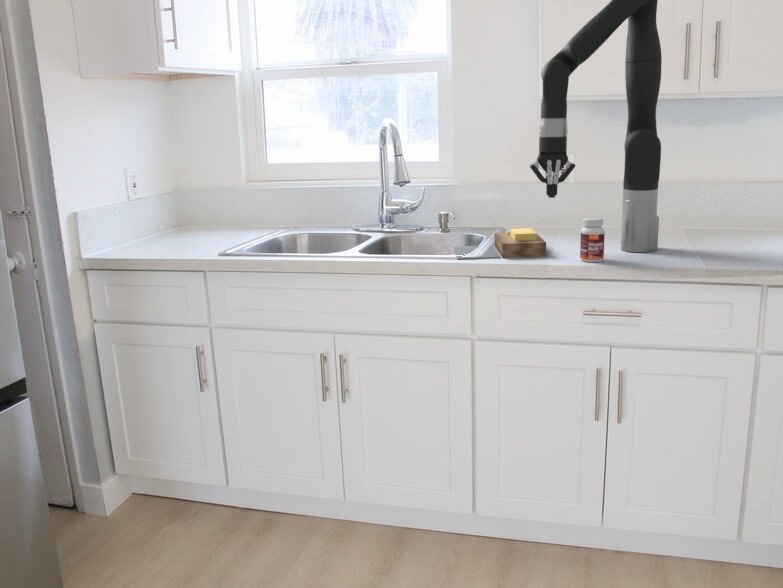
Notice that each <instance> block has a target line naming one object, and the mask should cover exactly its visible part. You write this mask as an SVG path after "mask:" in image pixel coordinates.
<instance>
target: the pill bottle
mask: <svg viewBox="0 0 783 588" xmlns="http://www.w3.org/2000/svg"><path fill="white" fill-rule="evenodd" d="M603 225H604V218H603V217H599V216H598V217H596V216H588V217H584V218H583V219H582V226H584V227H582V228H581V229H580V244H579V245H580V250H579V251H580V252H579V259H580V261H582V262H583V263H584V262H586V263H600V262H602V261H604V260H605V258H604V257H605V235H606V232H605V229H604V228H603Z"/></svg>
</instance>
